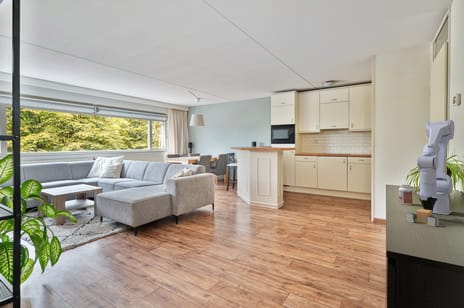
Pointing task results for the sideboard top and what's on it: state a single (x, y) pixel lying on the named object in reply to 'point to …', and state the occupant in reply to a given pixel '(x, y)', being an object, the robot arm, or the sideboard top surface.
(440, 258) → the sideboard top surface
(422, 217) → the orange block
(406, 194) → the pill bottle
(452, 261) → the sideboard top surface
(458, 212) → the sideboard top surface
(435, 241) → the sideboard top surface
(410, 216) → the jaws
